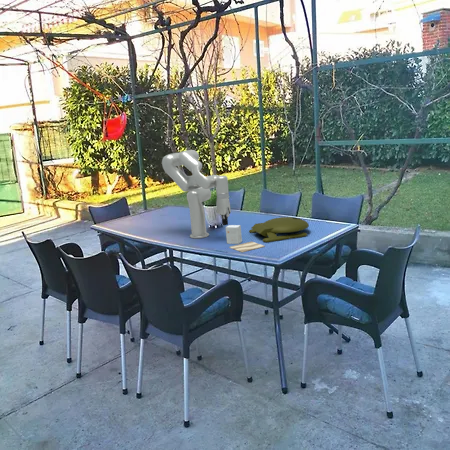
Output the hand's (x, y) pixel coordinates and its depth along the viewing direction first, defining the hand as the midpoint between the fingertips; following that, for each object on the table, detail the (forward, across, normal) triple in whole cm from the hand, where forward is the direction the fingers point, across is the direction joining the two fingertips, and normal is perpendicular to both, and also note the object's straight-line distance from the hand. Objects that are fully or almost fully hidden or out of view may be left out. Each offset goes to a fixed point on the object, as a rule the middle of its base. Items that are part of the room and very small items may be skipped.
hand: (225, 224), depth 295 cm
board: (+10, +24, 0) cm, 26 cm away
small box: (+10, +10, 0) cm, 14 cm away
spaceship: (+10, +14, +33) cm, 37 cm away
